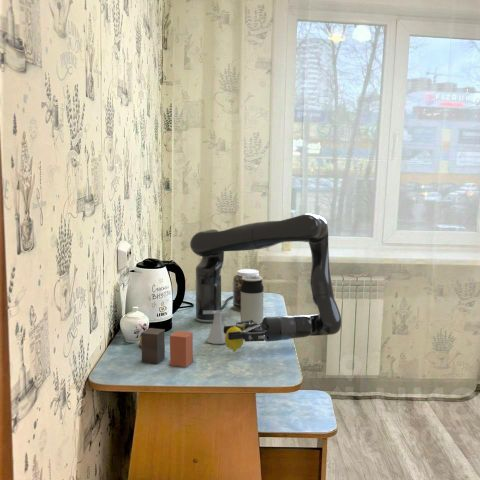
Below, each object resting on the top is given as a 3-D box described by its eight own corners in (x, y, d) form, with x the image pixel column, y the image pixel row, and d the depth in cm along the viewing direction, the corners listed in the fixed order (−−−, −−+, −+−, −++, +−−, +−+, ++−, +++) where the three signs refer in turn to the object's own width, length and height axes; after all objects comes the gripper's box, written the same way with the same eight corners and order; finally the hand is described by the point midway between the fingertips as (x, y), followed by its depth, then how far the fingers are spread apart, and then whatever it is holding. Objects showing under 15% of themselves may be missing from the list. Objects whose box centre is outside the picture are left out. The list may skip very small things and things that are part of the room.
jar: (266, 305, 241) (266, 269, 238) (257, 313, 229) (258, 275, 227) (238, 303, 243) (238, 267, 241) (228, 310, 232) (228, 273, 230)
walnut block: (149, 356, 180) (149, 328, 179) (164, 358, 179) (164, 329, 178) (141, 362, 176) (141, 332, 174) (157, 364, 175) (156, 334, 173)
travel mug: (252, 331, 207) (253, 281, 204) (235, 327, 211) (236, 277, 208) (267, 326, 213) (268, 277, 210) (251, 322, 218) (251, 274, 215)
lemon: (225, 348, 185) (225, 323, 183) (243, 348, 185) (243, 323, 184) (224, 354, 179) (224, 328, 178) (243, 354, 180) (243, 328, 178)
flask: (224, 345, 192) (224, 315, 190) (203, 343, 193) (203, 313, 192) (231, 338, 199) (232, 309, 197) (211, 336, 200) (211, 307, 199)
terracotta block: (177, 359, 178) (177, 330, 177) (192, 361, 177) (192, 332, 176) (170, 365, 174) (169, 335, 172) (186, 367, 173) (185, 337, 171)
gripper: (272, 310, 192) (220, 314, 186) (286, 323, 179) (231, 328, 173) (272, 332, 193) (220, 337, 188) (286, 347, 180) (231, 352, 174)
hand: (226, 333), depth 180 cm, fingers closed on lemon, 5 cm apart
